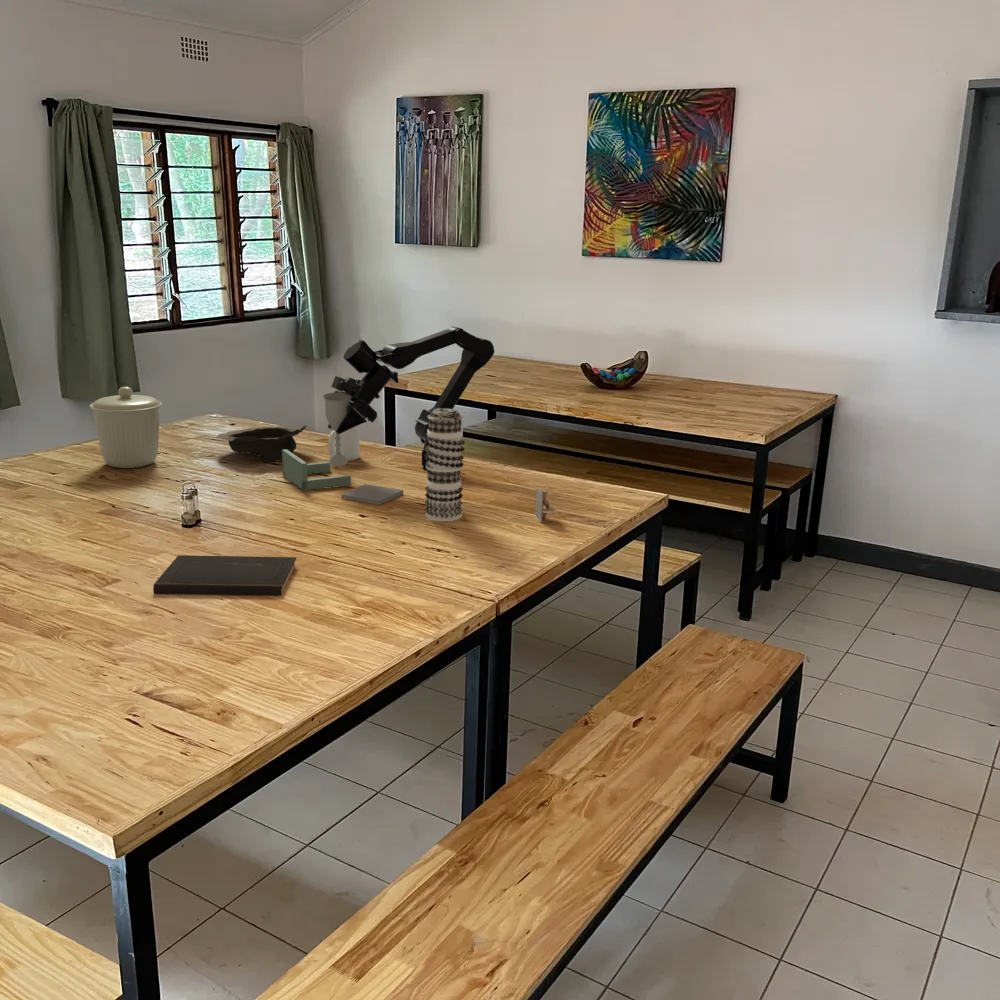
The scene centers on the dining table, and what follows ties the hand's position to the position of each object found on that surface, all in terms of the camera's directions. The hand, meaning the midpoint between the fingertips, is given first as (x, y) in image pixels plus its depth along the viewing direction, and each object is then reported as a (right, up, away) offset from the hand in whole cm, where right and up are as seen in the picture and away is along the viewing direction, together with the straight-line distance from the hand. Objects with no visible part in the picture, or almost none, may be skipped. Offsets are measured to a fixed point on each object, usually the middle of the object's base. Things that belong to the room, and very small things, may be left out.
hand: (333, 430), depth 252 cm
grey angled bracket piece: (+53, -23, -25) cm, 63 cm away
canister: (-57, -8, +12) cm, 59 cm away
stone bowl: (-25, -6, +26) cm, 36 cm away
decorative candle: (+30, -22, -25) cm, 45 cm away
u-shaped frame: (-4, -13, +1) cm, 14 cm away
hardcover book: (-8, -34, -67) cm, 76 cm away
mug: (-2, -7, +24) cm, 25 cm away
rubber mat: (+12, -17, -11) cm, 23 cm away
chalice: (+1, -8, +5) cm, 9 cm away
